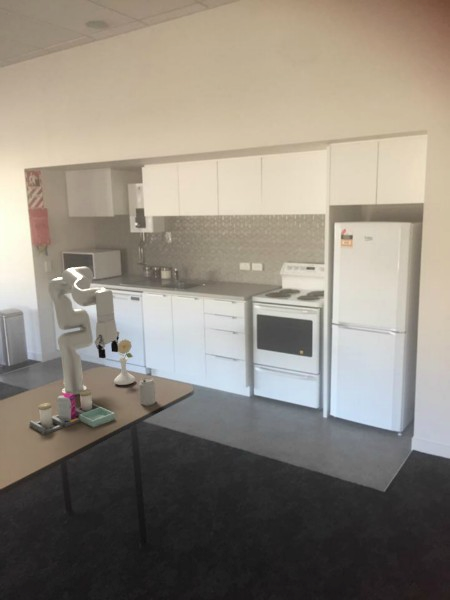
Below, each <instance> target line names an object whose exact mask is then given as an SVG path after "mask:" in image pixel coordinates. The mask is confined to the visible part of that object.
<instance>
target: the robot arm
mask: <svg viewBox="0 0 450 600" xmlns="http://www.w3.org/2000/svg"><path fill="white" fill-rule="evenodd" d="M93 279H94V273H93V270H92V269H91V268H90V267H88V266H78V267H77V266H76V267H70V268H69V267H68V268H66V269H65V270H63V272H62V273H61V277H57V278H52V279H50V281H49V282H48V286H47V287H48V293H49V296H50V298H51V300H52V302H53V306H54V309H55V316H56V320H57V324H58V328H59V329H60V330H63V331H67V330H73V329H78V328H79V330H73V331H68V332H64V333H61V334H60V335H59V336H58V338H57V344H58V345H57V346H58V348H59V352H60V356H61V364H62V365H61V366H62V374H63V382H62V385H64V388H62V390H61V395H62V394H63V393H69V394H75V396H76V395H80V392H81V391H83V390H88V389H87V388H88V387H87V386H86V385H85V384H84V377H83V365H82V357H81V355H80V354H79V353H78V352H77V350H80V349H85V348H89V347H91V346H92V345H93V343H94V345H95V347H96V349H97V352H98V358H100V359H106V355H107V354H106V349H105V347H106V345H107V344H110V345H111V352H112V353H113V352H114V353H118V343H119V338H120V337H119V336H120V332H119V331H118V330H117V323H116V320H115V309H114V308H115V306H114V296H113V291H112V290H111V289H107V288H106V287H103V286H100V287H92V288H90V287H91V283H92V282H93ZM67 294H71V297H72V300H73V301H74V302H75V303H76V304H77V305H79V306H81V307H90V306H95V308H96V309H95V310H96V311H95V312H96V320H97V321H96V326H95V340H94V337H93V331H92V326H91V321H90V316H89V313H88V311H87V310H86V309H83V308H77V309H73V303H72V300H71V299H70V297H69V296H68V295H67Z"/></svg>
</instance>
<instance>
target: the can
mask: <svg viewBox="0 0 450 600" xmlns="http://www.w3.org/2000/svg"><path fill="white" fill-rule="evenodd" d="M138 386H139V400H140V401H139V402H140V403H141V404H142V406H146V407H147V406H148V407H149V406H152V405H154V404H155V403H156V402H157V395H156V393H157V392H156V382H155V380H154V378H153V377H145V378H144V377H143V378H141V379H140V381H139V384H138Z"/></svg>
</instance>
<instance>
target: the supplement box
mask: <svg viewBox="0 0 450 600" xmlns="http://www.w3.org/2000/svg"><path fill="white" fill-rule="evenodd" d="M75 396H76V395H75V394H69V393H63V394H62V393H61V394H60V395H59V396H57V398H56V401H57V412H58V414H57V415H58V416H59V419H61V420H63V421H65V423H66V422H69V421H70V420H73V419H76V418H77V416H76V409H75V408H76V399H75V398H76V397H75Z"/></svg>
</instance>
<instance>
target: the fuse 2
mask: <svg viewBox="0 0 450 600" xmlns="http://www.w3.org/2000/svg"><path fill="white" fill-rule="evenodd" d="M79 396H80V397H79V400H80V407H81V411H83V412H88V411H91V410H93V409H92V403H93V399H92V398H93V397H92V390H90V389H87V390H83V391H81V392H80V394H79Z"/></svg>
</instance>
